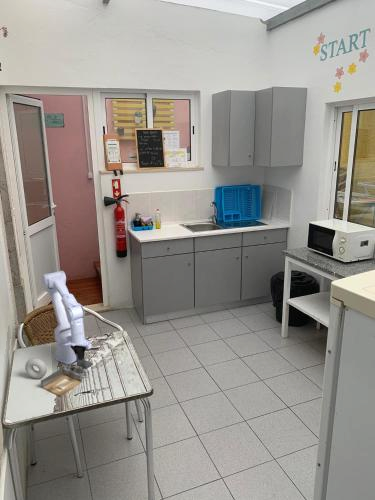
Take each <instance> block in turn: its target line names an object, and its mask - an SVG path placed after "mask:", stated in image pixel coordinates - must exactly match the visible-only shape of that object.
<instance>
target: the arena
mask: <svg viewBox="0 0 375 500" xmlns="http://www.w3.org/2000/svg"><path fill="white" fill-rule="evenodd" d="M81 383H83V377H82V374H80V373H78V372H75V371H74V370H71V369H68V368H66V367H63V366H62V367H61V368H59V369H58V370H56V371H55V372H53V373H51V374H50V375H48V376H46V377H45V378H43V379H41V380H40V384H41V389H43V390H45V391H47V392H49V393H51V394H54V395H56V396H58V397H62V396H64V395H65V394H66V393H69V392H70V391H71V390H73V389H74V388H76V387H77V386H79V385H81Z"/></svg>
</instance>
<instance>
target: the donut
mask: <svg viewBox="0 0 375 500" xmlns="http://www.w3.org/2000/svg"><path fill="white" fill-rule="evenodd" d="M34 367H36V368H38V370H36V369H35V368H34ZM24 370H25V371H26V374H27V375H28V376H29V377H30V378H33V379H42V378H43V377H45V376H46V374H47V372H48V367H47V365H46V363H45V361H43V360H42V359H40V358H36V357H33V358H30V359H28V360H27V361H26V362H25V366H24Z"/></svg>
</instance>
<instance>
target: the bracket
mask: <svg viewBox="0 0 375 500" xmlns="http://www.w3.org/2000/svg"><path fill="white" fill-rule="evenodd" d="M75 362H76V366H77V367H80V368H81V369H84V370H87V369H89V368H90V367H92V366H93V365H94V363H93V362H91V361H88V360H86V357H85V354H84V359H82V360H79V356H78V353H76V361H75Z"/></svg>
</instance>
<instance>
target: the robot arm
mask: <svg viewBox="0 0 375 500" xmlns="http://www.w3.org/2000/svg"><path fill="white" fill-rule="evenodd" d="M41 278H42V279H41V281H42V285H43V288H44V290H45V293H49V296H50V299H51V302H52V306H53V310H54V314H55V318H56V321H57V326H56V328H55V329H54V330H53V334H54V341H55V343H56V345H55V351H56V354H55V355H56V358H55V360H56V361H58V362H60V363H62V364H65V365H67V366H69V365H71V364H72V363H74V362H77V361H76V353H78V356H79V360H82V359H84V355H85V354H86V351H87V350H90V349H92V347H93V345H92V343H91V342H90V341H89V340H87V339H86V335H85V327H84V326H85V325H84V318H85V312H86V311H85V310H84V309H85V308H84V306H83V305H82V304H81V303H78V301H77V299H76V298H75V296H74V295H73V294H72V293H70V292H69V289H68V287H67V285H66V283H67V276H66V273H65V271H63V270H58V271H54V272H50V273H44V274H42V276H41Z"/></svg>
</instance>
